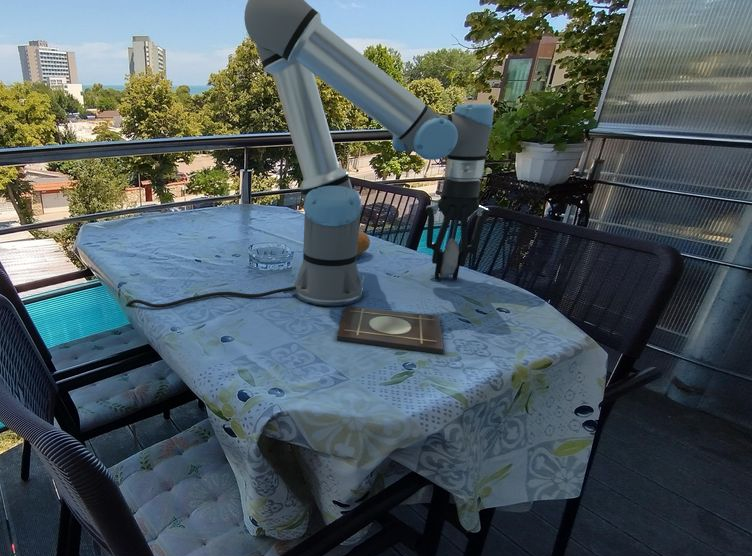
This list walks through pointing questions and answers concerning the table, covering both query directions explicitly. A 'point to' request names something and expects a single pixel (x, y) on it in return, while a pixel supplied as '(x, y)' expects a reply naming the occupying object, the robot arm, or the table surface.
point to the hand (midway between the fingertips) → (445, 276)
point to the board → (391, 329)
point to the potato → (362, 243)
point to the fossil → (449, 259)
